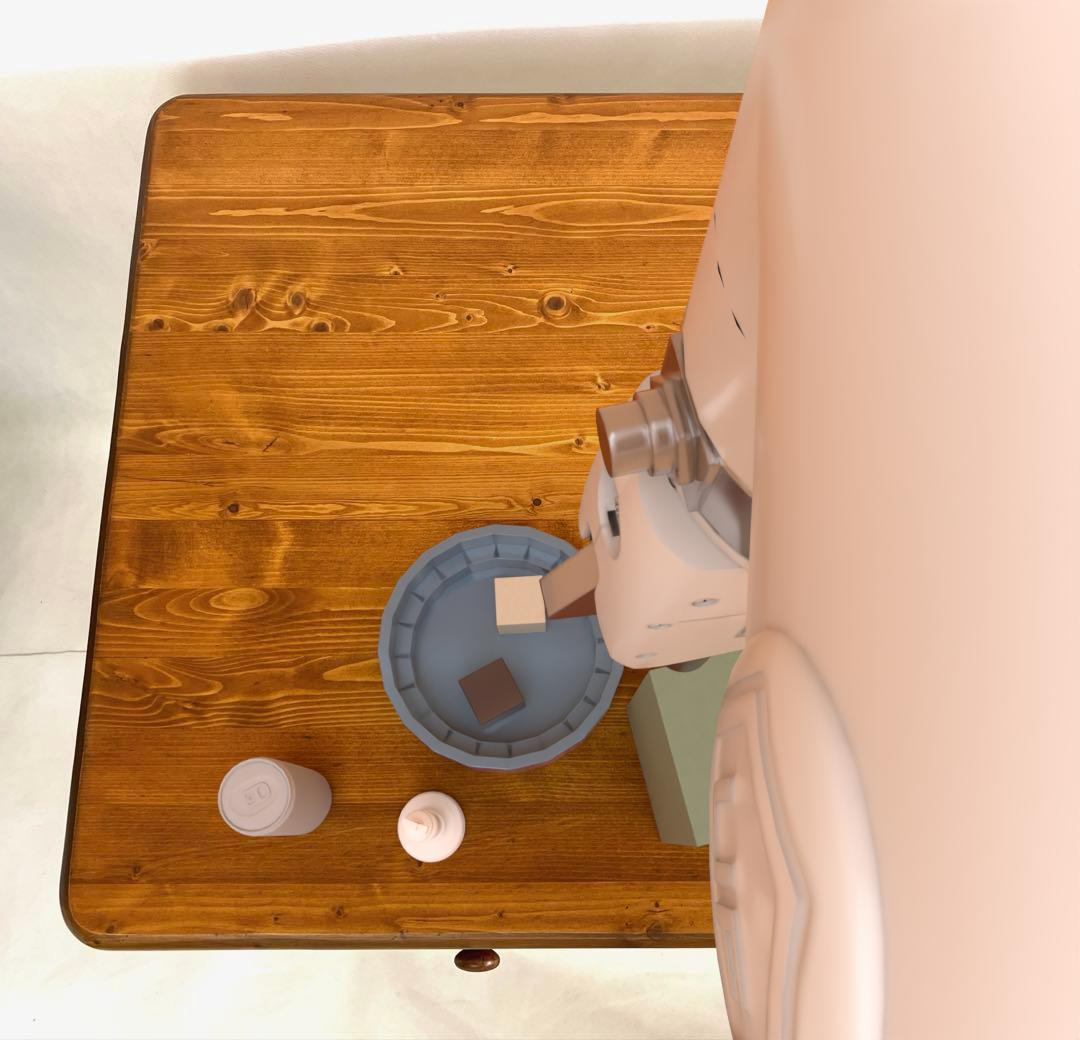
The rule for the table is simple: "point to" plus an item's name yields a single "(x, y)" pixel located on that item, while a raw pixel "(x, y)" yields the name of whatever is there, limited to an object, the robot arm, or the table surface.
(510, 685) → the walnut block
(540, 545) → the bowl
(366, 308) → the table surface
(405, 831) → the chess piece
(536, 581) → the cream block
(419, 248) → the table surface
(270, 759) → the beverage can
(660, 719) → the stand
